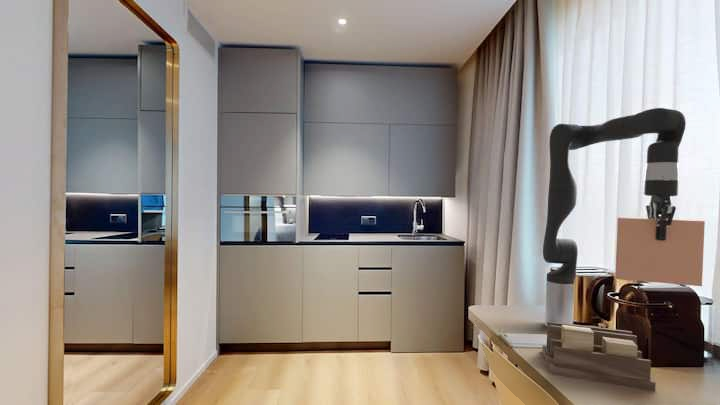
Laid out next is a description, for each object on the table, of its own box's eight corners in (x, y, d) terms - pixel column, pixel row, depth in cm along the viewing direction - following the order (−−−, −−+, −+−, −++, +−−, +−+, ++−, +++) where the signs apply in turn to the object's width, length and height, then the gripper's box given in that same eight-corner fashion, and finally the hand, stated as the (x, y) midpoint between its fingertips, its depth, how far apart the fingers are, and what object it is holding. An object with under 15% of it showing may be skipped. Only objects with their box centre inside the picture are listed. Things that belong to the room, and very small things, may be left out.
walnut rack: (542, 351, 118) (543, 319, 118) (632, 364, 111) (633, 330, 111) (550, 373, 103) (551, 337, 103) (655, 390, 96) (656, 351, 95)
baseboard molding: (611, 354, 120) (588, 340, 132) (611, 344, 120) (588, 331, 132) (512, 350, 120) (498, 337, 132) (513, 341, 120) (499, 328, 132)
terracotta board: (615, 277, 113) (617, 217, 112) (698, 284, 106) (700, 220, 106) (617, 279, 111) (619, 217, 110) (701, 286, 104) (704, 221, 104)
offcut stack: (560, 359, 108) (562, 324, 108) (630, 370, 102) (632, 333, 102) (563, 365, 104) (564, 329, 104) (636, 376, 99) (637, 338, 98)
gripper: (636, 180, 116) (634, 236, 116) (655, 177, 103) (653, 241, 103) (666, 180, 113) (663, 238, 114) (689, 178, 100) (686, 243, 100)
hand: (658, 239), depth 108 cm, fingers closed on terracotta board, 2 cm apart
